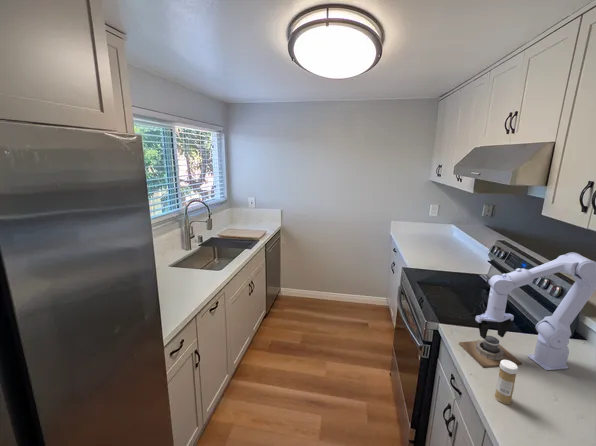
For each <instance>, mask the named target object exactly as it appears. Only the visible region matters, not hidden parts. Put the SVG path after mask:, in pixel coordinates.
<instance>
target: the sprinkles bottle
mask: <svg viewBox="0 0 596 446" xmlns="http://www.w3.org/2000/svg"><path fill="white" fill-rule="evenodd" d="M518 370H519V366H518V365H516V364H515V363H513V362H511V361H509V360H501V362H500V366H499V371H498V376H497V383H496V388H495V392H494V397H495V399H496V400H497V401H498V402H500V403H501V404H504V405H510V404H511V403H512V399H513V398H512V397H513V394H514V389H515V383H516V377H517V373H518Z"/></svg>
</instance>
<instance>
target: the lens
mask: <svg viewBox="0 0 596 446" xmlns="http://www.w3.org/2000/svg"><path fill="white" fill-rule="evenodd" d="M483 340H484V342H483V350H485V351H487V352H490V353H497V352H498V347H499V344H500V340H499V339H498V338H497V337H495V336H494V335H493V336H492V335H486V338H485V339H483Z"/></svg>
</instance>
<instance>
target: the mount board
mask: <svg viewBox="0 0 596 446" xmlns="http://www.w3.org/2000/svg"><path fill="white" fill-rule="evenodd" d="M483 342H484V339H482V340H481V339H480V340H479V339H477V340H474V341H473V340H472V341H460V342H459V341H458V345H459V346H460V347H462V349H463V350H464V351H465V352H467V354H469V356H470V357H472V358H473V360H475V362H476V363H478V364H479V366H480V367H482V368H493V367H495V368H496V367H500V362H501V360H509V361H511V362H513V363H515V364H516V365H517V366H518V365H523V363H522V361H520V360H519V359H518V358H517V357H516V356H515V355H513V354H512V353H511V352H510V351H508V350H507V349H506V348H505V347H503V345H501V344H500V343H499V347H498V352H497V353H490V352H487V351H485V350H483Z"/></svg>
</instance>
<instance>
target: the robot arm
mask: <svg viewBox="0 0 596 446" xmlns="http://www.w3.org/2000/svg"><path fill="white" fill-rule="evenodd" d="M558 273H564V274H567V275H572V278H573V279H574V280H575V281H574V282H573V284H572V286H571V287H570V288H569V290H568V291H567V293H566V295H565V296H564V297H563V298H562V300H561V302H559V305H558V306H557V307H556V309H555V310H554V312H553V313H552V314H551V315H549V316H548V315H547V316H544V318H542V320H540V321H539V322H537V323H536V325H535V330H536V332H537V333H538V334H537V340H536V344H535V348H534V352H533V353H534V354H527V357H528V358H530V359H531V360H532V361H533V362H534V363H536V364H537V365H538V366H539V367H541V368H542V369H544V370H545V371H554V370H565V369H569V366H567V363H568V359H569V354H570V351H569V347H568V346H569V343H570V337H571V336H572V330H571V325H572V323H573V322H574V320H575V319H576V318H577V316H578V315H579V313H580V312H581V311H582V309H583V308H584V306H585V305H586V303H587V302H588V301H589V300H590V298H591V296H593V294H594V292H595V291H596V261H594V260H591V259H589V258H588V257H585V256H583V255H581V254H580V253H579V252H578V253H577V252H571V251H570V252H568V253H565V254H562V255H558V256H557V258H556V259H553V260H550V261H547V262H545V263H542V264H541V265H537V266H535V267H532V268H530V269H527V268H519V267H518V268H516V269H515V270H513V271H510V272H507V273H502V274H495V275H492V276H491V277H490V279H488V281H487V283H488V285H489V286H490V288H489V289H490V290H489V292H488V293H489V294H488V300H487V307H486V310H485V312H484V313H482V314H480V315H479V314H478V315H476V316H475V322H476V324H477V326H478V331H479V336H480V338H482V340H484V339H485V338H486V336H488V335H487V334H488V332H489V329H490V328H491V325H490V324H488V322H497V325H498V326H497V335H498V337H500V338H504V337H505V335H506V334H507V332H508V330H509V329H510V328H512V327H513V326H514V322H513V321H514V318H515V316H514V315H513V314H511V313H506V308H507V302H508V296H509V294H510V293H512V291H513V290H515V289H516V288H520V287H523V286H526V285H529V284H532V283H533V282H534V280H535V279H537V278H541V277H545V276H549V275H553V274H558Z"/></svg>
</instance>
